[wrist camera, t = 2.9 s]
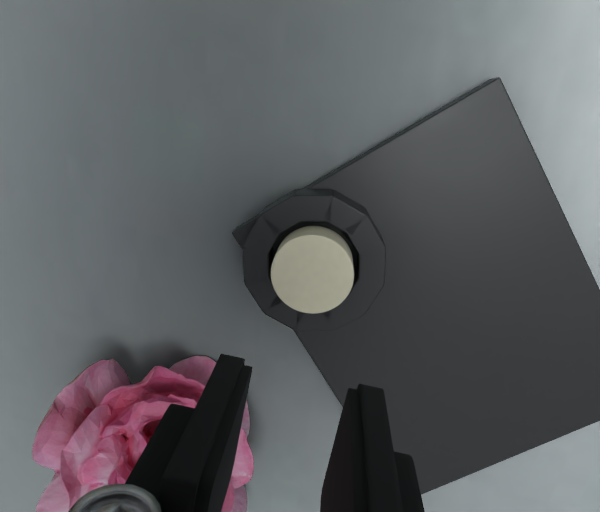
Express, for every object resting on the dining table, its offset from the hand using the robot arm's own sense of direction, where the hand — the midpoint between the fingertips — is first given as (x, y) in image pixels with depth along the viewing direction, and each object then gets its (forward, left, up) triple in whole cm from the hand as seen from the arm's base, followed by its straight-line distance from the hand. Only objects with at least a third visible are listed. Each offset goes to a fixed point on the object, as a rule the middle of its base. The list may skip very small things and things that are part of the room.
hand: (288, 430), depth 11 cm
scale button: (0, 0, -13) cm, 13 cm away
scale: (+6, +4, -15) cm, 17 cm away
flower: (+5, -12, -15) cm, 20 cm away
